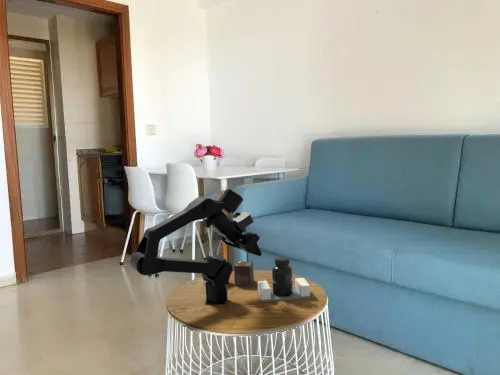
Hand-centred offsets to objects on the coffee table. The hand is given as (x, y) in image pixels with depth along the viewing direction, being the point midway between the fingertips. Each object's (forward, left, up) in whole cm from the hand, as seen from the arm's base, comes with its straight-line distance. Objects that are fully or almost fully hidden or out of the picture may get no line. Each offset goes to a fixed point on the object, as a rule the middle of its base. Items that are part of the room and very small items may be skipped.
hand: (253, 252), depth 144 cm
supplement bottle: (+10, -5, -13) cm, 17 cm away
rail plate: (+10, -5, -14) cm, 17 cm away
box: (-4, +8, -14) cm, 17 cm away
